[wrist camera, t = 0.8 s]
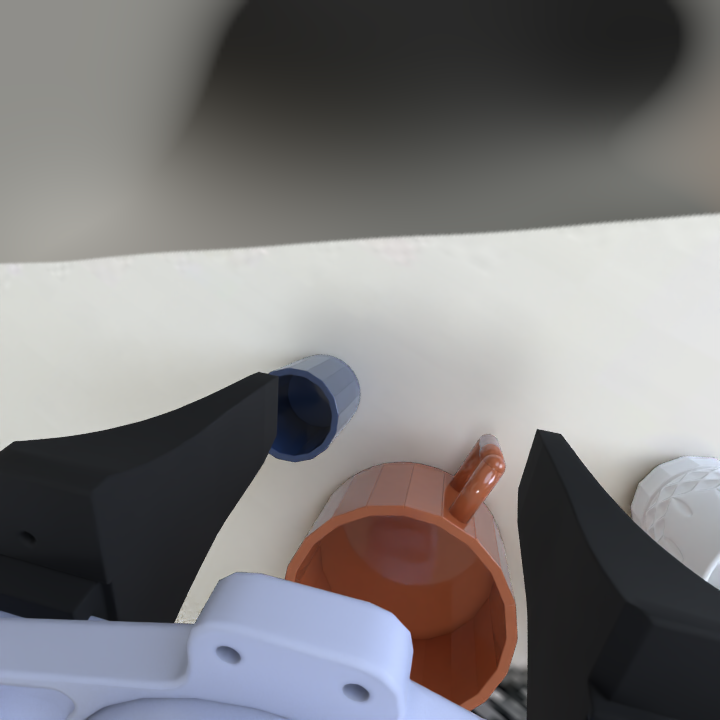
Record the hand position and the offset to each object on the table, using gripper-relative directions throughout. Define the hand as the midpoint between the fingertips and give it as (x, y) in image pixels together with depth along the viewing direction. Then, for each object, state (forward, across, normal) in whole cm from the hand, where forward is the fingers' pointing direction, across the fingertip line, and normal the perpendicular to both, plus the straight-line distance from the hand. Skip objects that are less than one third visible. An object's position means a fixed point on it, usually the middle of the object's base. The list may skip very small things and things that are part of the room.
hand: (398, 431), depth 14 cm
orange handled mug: (+13, -2, +16) cm, 21 cm away
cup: (+16, +6, +9) cm, 19 cm away
